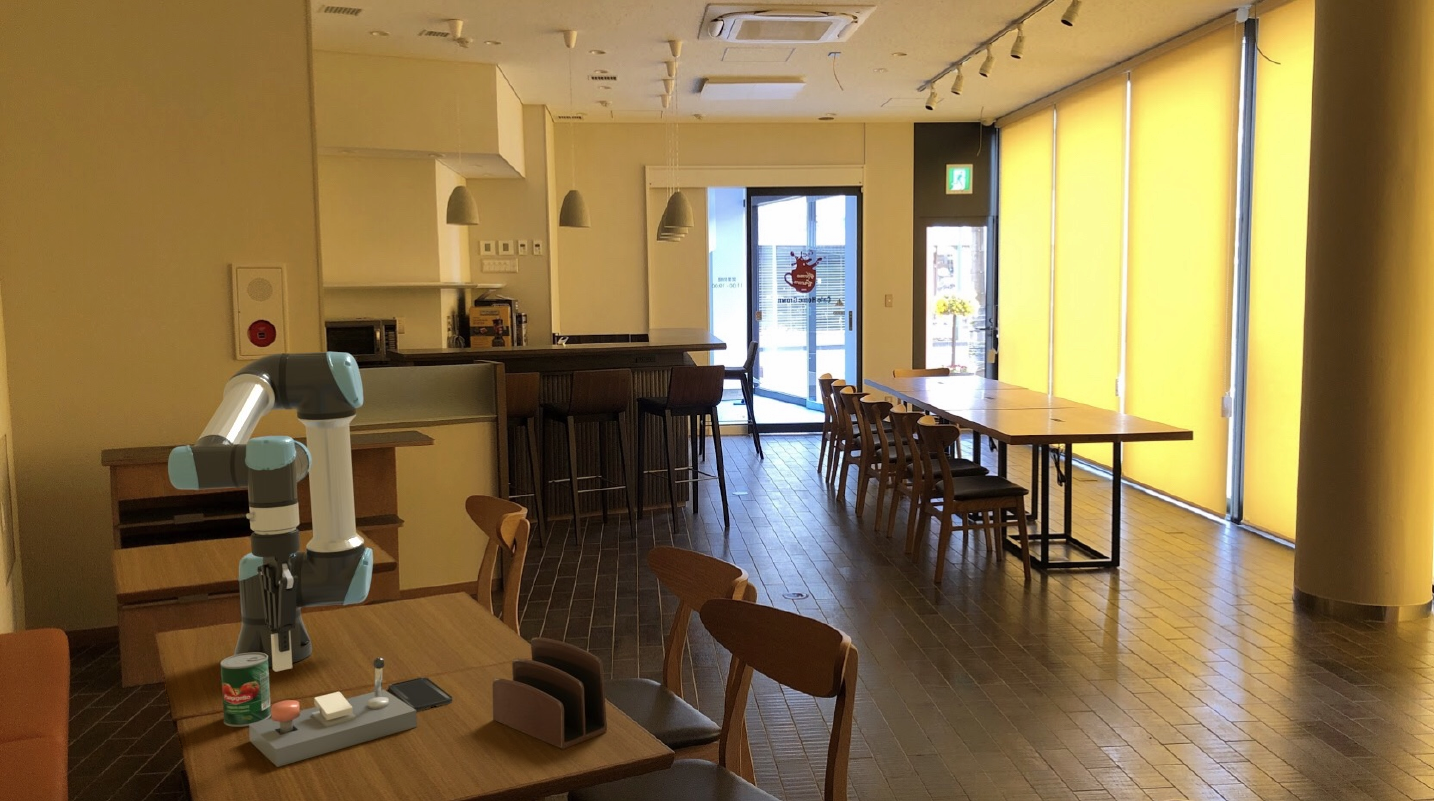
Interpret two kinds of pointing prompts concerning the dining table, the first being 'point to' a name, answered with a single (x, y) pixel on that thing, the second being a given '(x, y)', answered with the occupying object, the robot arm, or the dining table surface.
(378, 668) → the toggle lever
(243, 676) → the canned tomato
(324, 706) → the rocker switch
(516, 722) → the letter holder
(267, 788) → the dining table surface
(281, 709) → the push button
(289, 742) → the control panel
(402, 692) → the phone
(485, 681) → the dining table surface
